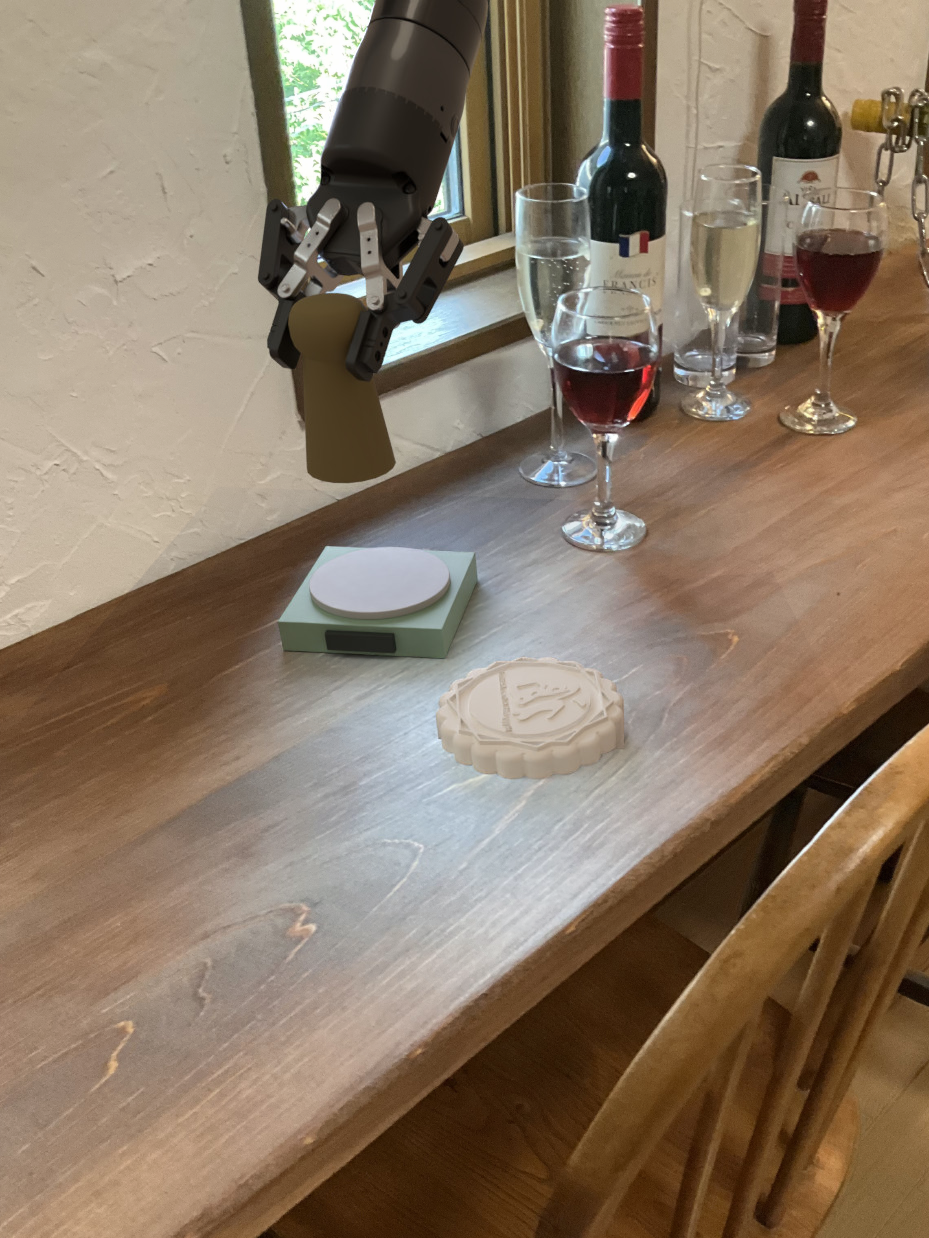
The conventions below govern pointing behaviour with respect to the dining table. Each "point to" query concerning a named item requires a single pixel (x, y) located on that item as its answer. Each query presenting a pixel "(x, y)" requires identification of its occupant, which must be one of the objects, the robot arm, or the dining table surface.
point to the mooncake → (531, 718)
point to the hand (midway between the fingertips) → (319, 368)
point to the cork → (337, 394)
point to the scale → (380, 602)
